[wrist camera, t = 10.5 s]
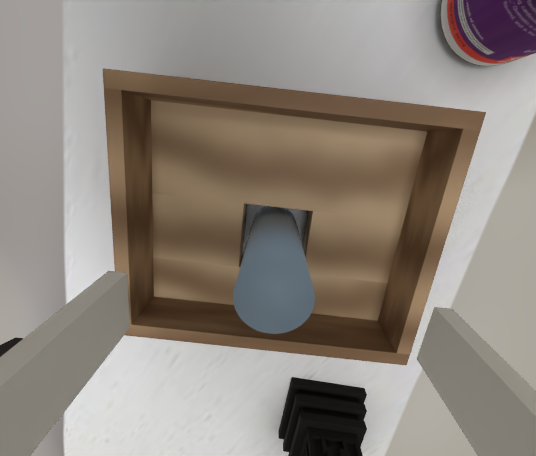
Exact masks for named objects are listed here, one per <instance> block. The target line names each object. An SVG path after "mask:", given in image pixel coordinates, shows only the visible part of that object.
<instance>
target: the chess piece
mask: <svg viewBox="0 0 536 456" xmlns="http://www.w3.org/2000/svg"><path fill="white" fill-rule="evenodd" d="M366 395H367V394H366V392H365V389H364V388H358V387H352V386H345V385H339V384H332V383H326V382H319V381H313V380H306V379H300V378H293V377H292V379H291V383H290V387H289V391H288V395H287V399H286V404H285V408H284V412H283V416H282V420H281V424H280V428H279V438H280V439H284V442H283V451H285V452H289V456H363V455H362V452H361V448H360V446H361V443H362V441H363V438H364V435H365V433H366V430H367V428H366V425H365V422H364V421H363V420H364V417H365V414H366V412H367V410H366V408H365V405H364V401H365V398H366Z"/></svg>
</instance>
